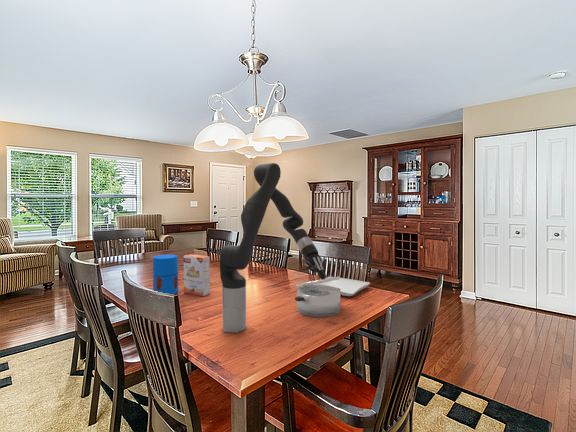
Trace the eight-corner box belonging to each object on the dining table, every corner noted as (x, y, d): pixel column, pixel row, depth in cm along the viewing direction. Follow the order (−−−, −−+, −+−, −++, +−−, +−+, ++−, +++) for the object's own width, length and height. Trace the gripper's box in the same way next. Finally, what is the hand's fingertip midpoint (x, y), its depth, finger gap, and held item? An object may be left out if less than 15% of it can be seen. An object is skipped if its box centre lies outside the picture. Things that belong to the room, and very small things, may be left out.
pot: (283, 308, 149) (283, 290, 148) (324, 298, 164) (324, 281, 163) (311, 322, 132) (311, 301, 132) (353, 309, 148) (353, 290, 147)
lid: (286, 288, 150) (285, 284, 151) (319, 281, 163) (318, 277, 163) (315, 284, 133) (314, 278, 134) (349, 277, 146) (348, 272, 146)
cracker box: (183, 293, 173) (182, 255, 172) (191, 290, 178) (191, 253, 177) (202, 297, 166) (202, 257, 165) (210, 294, 172) (210, 255, 171)
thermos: (170, 314, 141) (169, 259, 139) (148, 313, 143) (147, 258, 141) (183, 306, 151) (182, 255, 150) (162, 305, 153) (161, 254, 152)
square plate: (370, 288, 185) (371, 281, 185) (352, 300, 162) (352, 293, 162) (329, 281, 200) (329, 275, 200) (307, 291, 178) (307, 284, 177)
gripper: (300, 244, 147) (317, 275, 138) (321, 242, 155) (338, 271, 146) (293, 254, 152) (309, 285, 143) (313, 251, 160) (330, 280, 151)
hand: (324, 278), depth 144 cm, fingers closed
